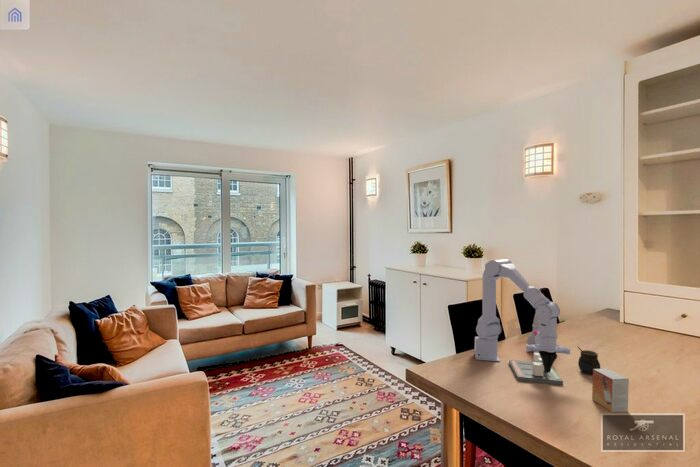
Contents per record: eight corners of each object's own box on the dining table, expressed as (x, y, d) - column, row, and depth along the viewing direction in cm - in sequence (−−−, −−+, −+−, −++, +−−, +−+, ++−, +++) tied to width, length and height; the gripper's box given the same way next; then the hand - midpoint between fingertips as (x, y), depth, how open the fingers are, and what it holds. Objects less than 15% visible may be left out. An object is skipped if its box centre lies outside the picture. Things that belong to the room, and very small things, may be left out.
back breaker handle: (535, 364, 140) (535, 355, 140) (533, 362, 142) (533, 352, 142) (543, 365, 139) (543, 355, 139) (541, 362, 142) (541, 353, 141)
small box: (591, 400, 115) (592, 368, 115) (607, 399, 116) (607, 367, 116) (611, 412, 107) (612, 379, 107) (628, 412, 108) (629, 378, 108)
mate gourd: (604, 377, 132) (604, 351, 132) (582, 376, 134) (582, 350, 134) (594, 369, 140) (594, 344, 139) (574, 368, 141) (574, 344, 141)
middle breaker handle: (539, 370, 134) (539, 360, 134) (537, 367, 137) (537, 357, 137) (547, 371, 134) (547, 360, 133) (545, 368, 136) (545, 358, 136)
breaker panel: (517, 380, 130) (517, 376, 130) (509, 363, 146) (509, 359, 146) (562, 385, 126) (562, 380, 126) (548, 366, 142) (548, 362, 142)
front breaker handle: (534, 375, 130) (534, 364, 130) (532, 372, 132) (532, 362, 132) (543, 376, 129) (543, 365, 129) (541, 373, 132) (541, 362, 132)
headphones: (539, 340, 176) (539, 302, 175) (558, 344, 170) (558, 304, 169) (526, 350, 161) (526, 309, 161) (546, 355, 155) (546, 312, 155)
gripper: (529, 337, 127) (528, 373, 128) (573, 340, 124) (573, 377, 124) (524, 331, 134) (524, 366, 135) (566, 334, 131) (566, 369, 131)
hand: (547, 371), depth 130 cm, fingers closed
